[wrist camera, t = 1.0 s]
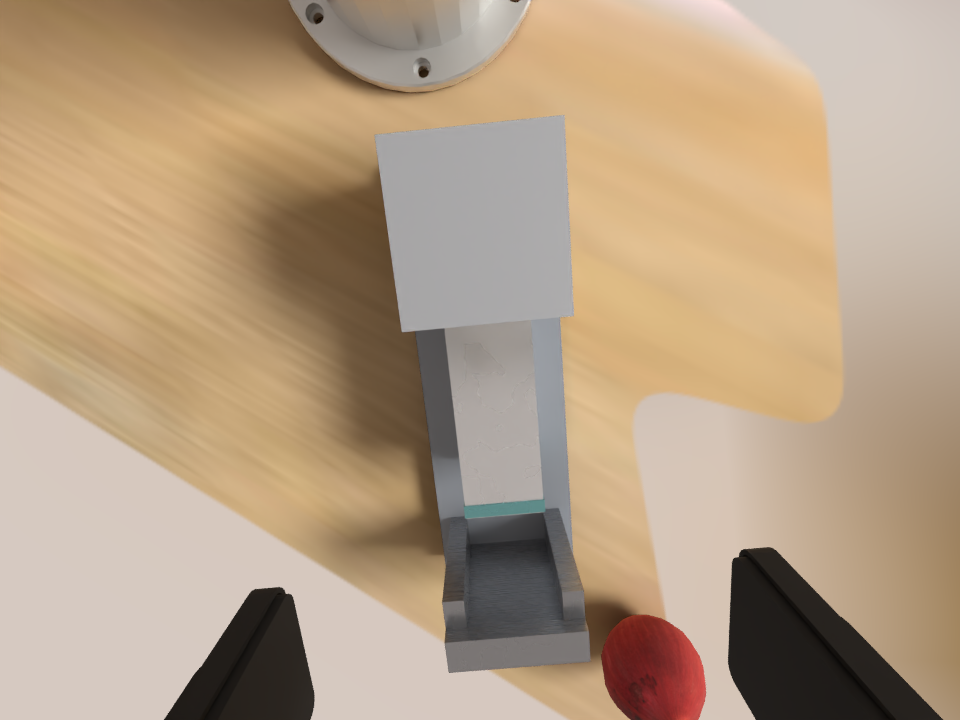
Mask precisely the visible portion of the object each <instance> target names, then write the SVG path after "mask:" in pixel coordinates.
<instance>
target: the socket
mask: <svg viewBox="0 0 960 720" xmlns="http://www.w3.org/2000/svg"><path fill="white" fill-rule="evenodd" d="M543 524H544V538H540V539H528V540H517V541H505V542H493V543H481V544H470V535H469V527H468V519H465V516H460V517H451V522H450V532H449V542H448V551H447V561H446V571H445V580H444V590H443V600H442V604H443V611H444V619H445V626H446V633H445V649H446V656H447V663H448V671H449V673H453V672H465V671H477V670H491V669H504V668H516V667H529V666H541V665H554V664H567V663H579V662H590V642H589V630H588V626H587V623H586V619H585V605H584V590H583V586H582V583H581V580H580V576H579V573H578V570H577V566H576V563H575V560H574V557H573V553H572V550H571V547H570V543H569V540H568V537H567V533H566V530H565V527H564V523H563V520H562V517H561V513H560V510H559V508H553V509H545V512H543Z"/></svg>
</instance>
